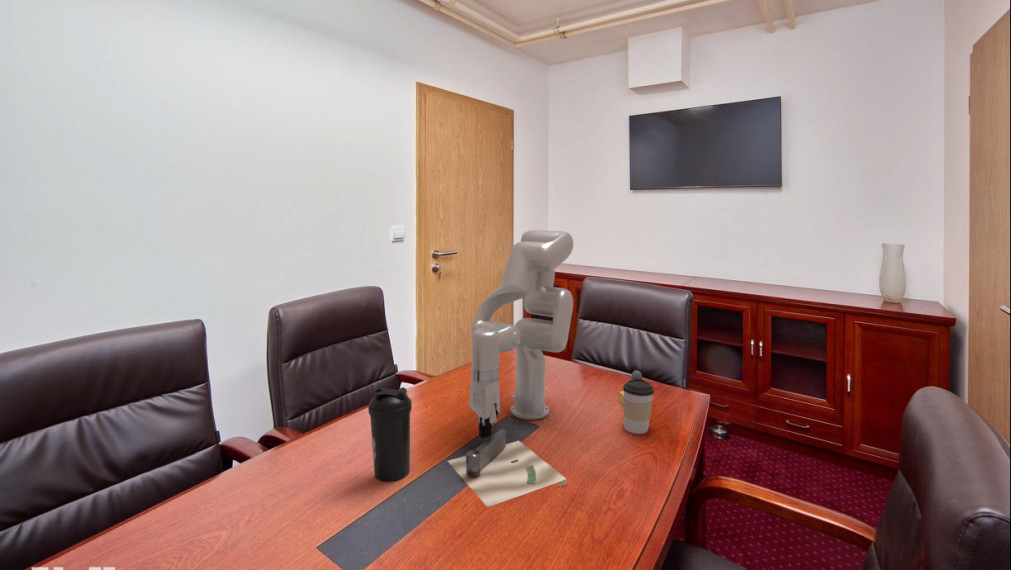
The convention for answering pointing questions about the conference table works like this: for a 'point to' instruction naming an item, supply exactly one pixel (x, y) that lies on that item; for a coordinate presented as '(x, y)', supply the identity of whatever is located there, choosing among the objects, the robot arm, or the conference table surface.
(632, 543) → the conference table surface
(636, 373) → the rubber stamp
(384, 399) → the water bottle
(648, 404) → the coffee cup
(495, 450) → the pointer lever
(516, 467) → the dial plate
